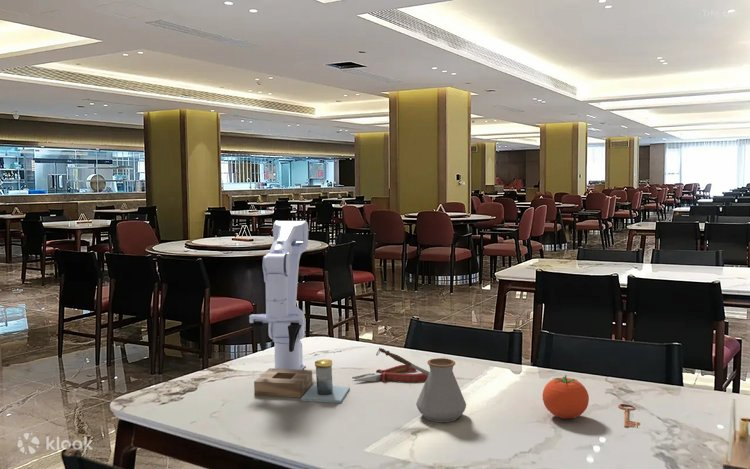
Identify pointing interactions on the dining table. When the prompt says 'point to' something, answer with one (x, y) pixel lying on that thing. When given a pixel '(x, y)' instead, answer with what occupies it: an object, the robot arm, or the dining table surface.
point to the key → (626, 421)
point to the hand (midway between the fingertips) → (277, 350)
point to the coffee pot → (437, 390)
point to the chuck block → (283, 382)
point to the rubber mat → (335, 397)
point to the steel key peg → (324, 377)
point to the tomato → (565, 397)
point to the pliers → (393, 375)
